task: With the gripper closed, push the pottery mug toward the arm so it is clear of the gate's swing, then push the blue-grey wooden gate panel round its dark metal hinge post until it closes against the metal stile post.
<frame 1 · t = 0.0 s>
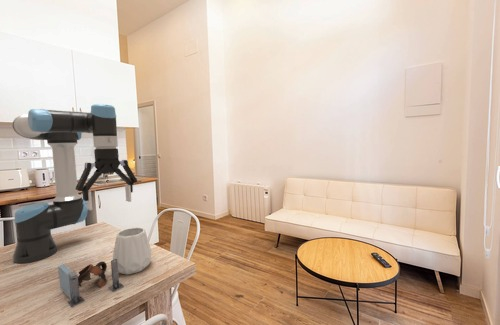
hand: (110, 205, 89), 28 cm above the table, fingers open, 13 cm apart
gate: (68, 281, 81), point 5 cm above the table, hinge at 0.0°
vase: (133, 268, 98), on the table
stile post: (116, 287, 85), on the table
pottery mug: (93, 284, 87), on the table
hinge post: (76, 301, 77), on the table
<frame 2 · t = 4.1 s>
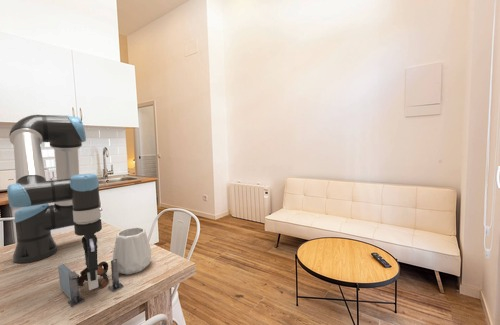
hand: (93, 287, 82), 2 cm above the table, fingers closed
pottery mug: (95, 284, 87), on the table, touching gripper
everything else where it was.
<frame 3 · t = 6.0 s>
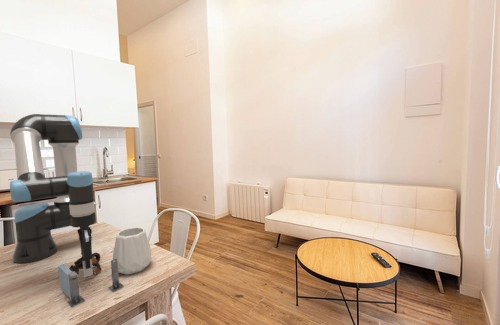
hand: (88, 275, 90), 2 cm above the table, fingers closed
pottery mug: (88, 273, 95), on the table, touching gripper
everything else where it was.
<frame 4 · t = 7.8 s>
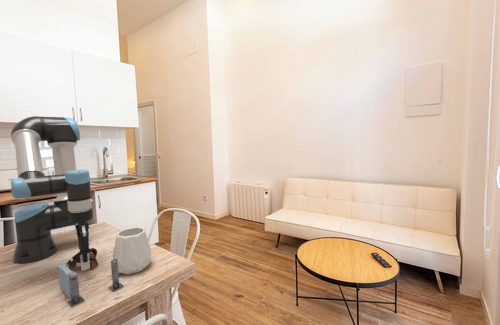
hand: (85, 268, 94), 2 cm above the table, fingers closed
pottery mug: (86, 267, 99), on the table, touching gripper
everything else where it was.
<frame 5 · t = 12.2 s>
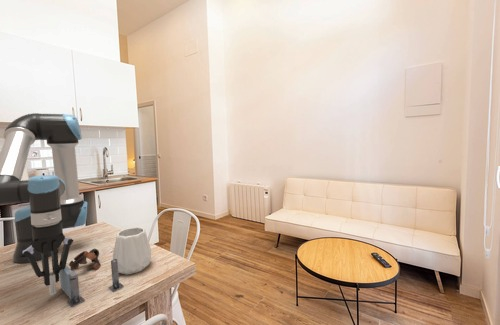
hand: (52, 292, 79), 2 cm above the table, fingers closed
gate: (68, 281, 81), point 5 cm above the table, hinge at 1.0°, touching gripper
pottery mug: (88, 268, 99), on the table
everything else where it was.
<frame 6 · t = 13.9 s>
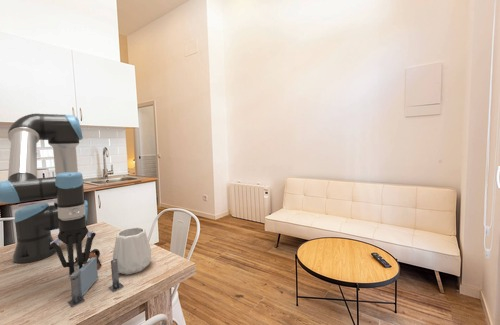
hand: (77, 282, 84), 2 cm above the table, fingers closed
gate: (84, 277, 83), point 5 cm above the table, hinge at 44.6°, touching gripper
everything else where it was.
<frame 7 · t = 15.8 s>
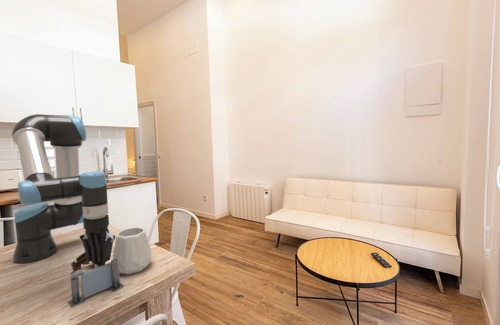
hand: (100, 280, 86), 2 cm above the table, fingers closed
gate: (96, 279, 81), point 5 cm above the table, hinge at 94.1°, touching gripper, stile post
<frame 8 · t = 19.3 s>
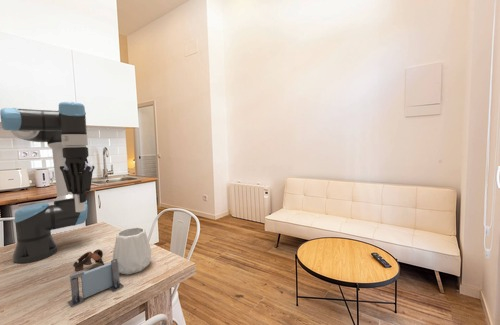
hand: (80, 210, 88), 26 cm above the table, fingers closed
gate: (96, 279, 81), point 5 cm above the table, hinge at 94.1°
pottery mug: (92, 269, 98), on the table
everything else where it was.
at the end: gate at +94° (first picture: +0°); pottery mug inside the target area (2.8 cm from its centre), on the table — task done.
